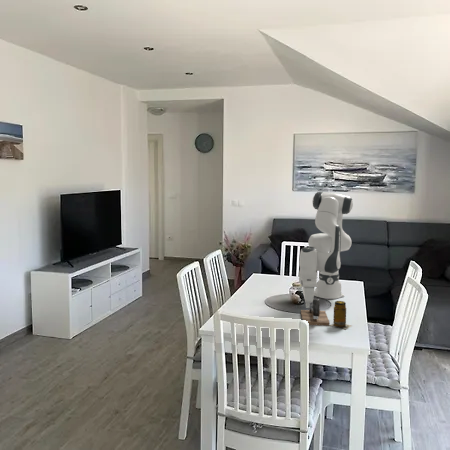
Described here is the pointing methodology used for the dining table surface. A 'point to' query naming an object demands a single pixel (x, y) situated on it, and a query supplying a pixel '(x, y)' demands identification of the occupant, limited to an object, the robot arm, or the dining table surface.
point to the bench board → (320, 321)
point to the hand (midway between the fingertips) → (307, 306)
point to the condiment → (340, 315)
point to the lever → (315, 308)
